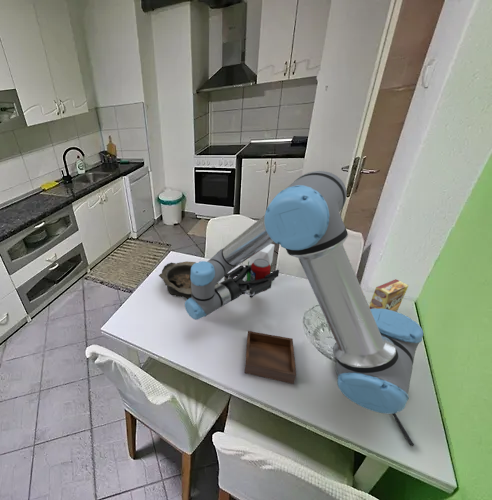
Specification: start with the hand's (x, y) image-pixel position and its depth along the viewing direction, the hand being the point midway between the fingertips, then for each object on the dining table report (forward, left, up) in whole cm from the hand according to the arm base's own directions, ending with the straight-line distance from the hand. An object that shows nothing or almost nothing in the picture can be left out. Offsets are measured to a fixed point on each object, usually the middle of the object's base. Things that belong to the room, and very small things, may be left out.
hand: (269, 268), depth 107 cm
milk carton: (+9, +3, -14) cm, 17 cm away
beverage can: (-4, +3, -7) cm, 9 cm away
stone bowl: (-2, +31, -14) cm, 34 cm away
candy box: (-6, -36, -14) cm, 39 cm away
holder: (-32, -1, -14) cm, 35 cm away
